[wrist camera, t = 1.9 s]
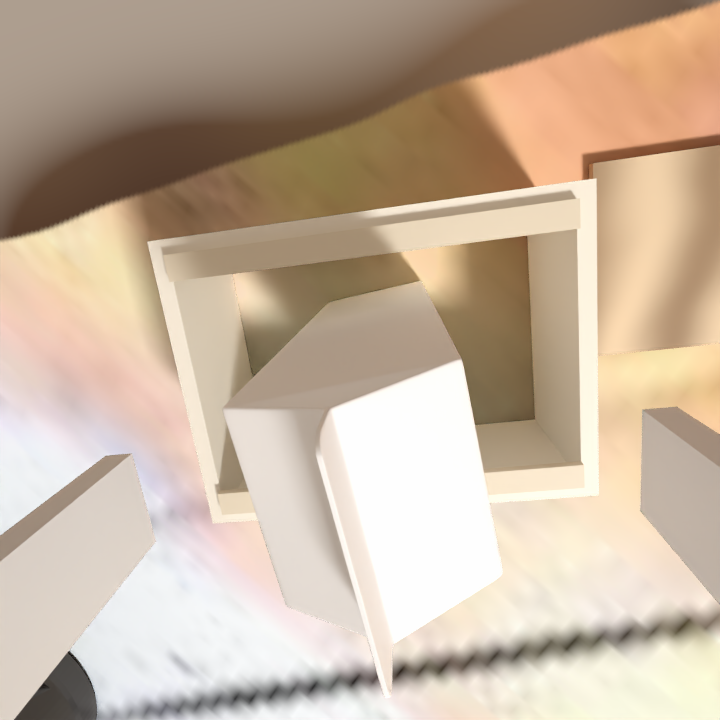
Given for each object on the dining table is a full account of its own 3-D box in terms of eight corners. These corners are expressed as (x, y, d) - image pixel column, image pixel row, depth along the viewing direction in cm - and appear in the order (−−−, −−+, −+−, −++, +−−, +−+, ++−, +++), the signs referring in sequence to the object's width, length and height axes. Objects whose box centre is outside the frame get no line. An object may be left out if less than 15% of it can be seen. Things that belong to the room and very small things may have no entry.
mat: (590, 354, 29) (594, 356, 29) (588, 164, 27) (592, 163, 26) (783, 334, 28) (791, 336, 28) (802, 134, 25) (811, 131, 25)
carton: (256, 455, 33) (210, 527, 25) (212, 239, 29) (142, 241, 21) (548, 429, 31) (601, 499, 23) (539, 194, 27) (600, 177, 19)
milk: (350, 389, 31) (244, 727, 10) (327, 300, 30) (146, 471, 9) (442, 371, 30) (540, 696, 9) (423, 277, 29) (486, 406, 8)
